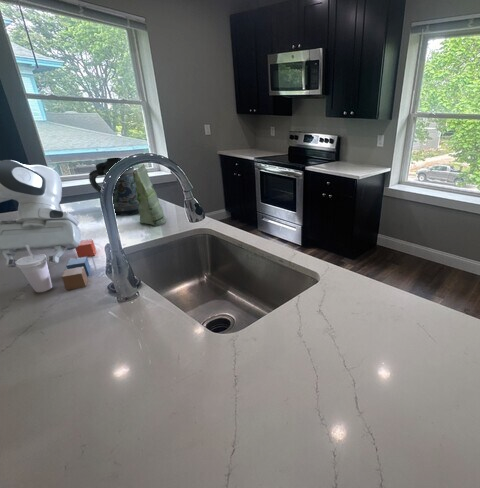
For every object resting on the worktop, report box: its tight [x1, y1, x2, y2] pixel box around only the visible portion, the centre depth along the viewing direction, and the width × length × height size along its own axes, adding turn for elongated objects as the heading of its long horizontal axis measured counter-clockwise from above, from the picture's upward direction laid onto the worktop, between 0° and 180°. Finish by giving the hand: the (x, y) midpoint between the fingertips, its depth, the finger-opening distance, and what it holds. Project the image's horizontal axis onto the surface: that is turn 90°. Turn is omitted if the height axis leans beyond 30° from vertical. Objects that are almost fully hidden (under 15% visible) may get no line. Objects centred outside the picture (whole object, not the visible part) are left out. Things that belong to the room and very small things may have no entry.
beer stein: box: [88, 157, 140, 217], centre depth 139 cm, size 16×19×25 cm
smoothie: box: [15, 245, 53, 293], centre depth 83 cm, size 6×6×14 cm
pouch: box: [133, 163, 167, 227], centre depth 128 cm, size 11×12×25 cm
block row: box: [61, 238, 97, 291], centre depth 95 cm, size 4×26×4 cm, turn 29°
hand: (32, 264), depth 82 cm, fingers open, 8 cm apart
